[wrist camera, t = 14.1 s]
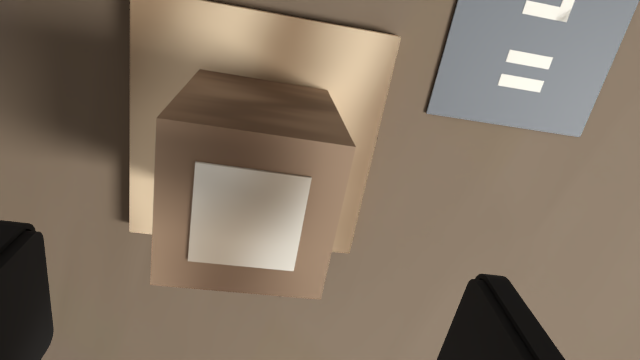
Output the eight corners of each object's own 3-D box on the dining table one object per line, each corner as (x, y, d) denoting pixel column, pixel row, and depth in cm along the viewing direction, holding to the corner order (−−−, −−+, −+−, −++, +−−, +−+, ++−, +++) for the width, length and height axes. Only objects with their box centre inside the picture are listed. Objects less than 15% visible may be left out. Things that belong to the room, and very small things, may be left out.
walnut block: (327, 90, 21) (356, 148, 13) (306, 200, 23) (321, 301, 16) (199, 69, 20) (155, 118, 12) (190, 186, 22) (149, 286, 15)
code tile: (656, -43, 20) (658, -44, 20) (578, 136, 24) (580, 137, 24) (481, -85, 19) (482, -85, 19) (425, 112, 23) (426, 113, 22)
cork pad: (396, 35, 21) (401, 37, 20) (347, 245, 25) (349, 253, 25) (135, -13, 19) (130, -13, 18) (133, 224, 24) (129, 231, 23)
